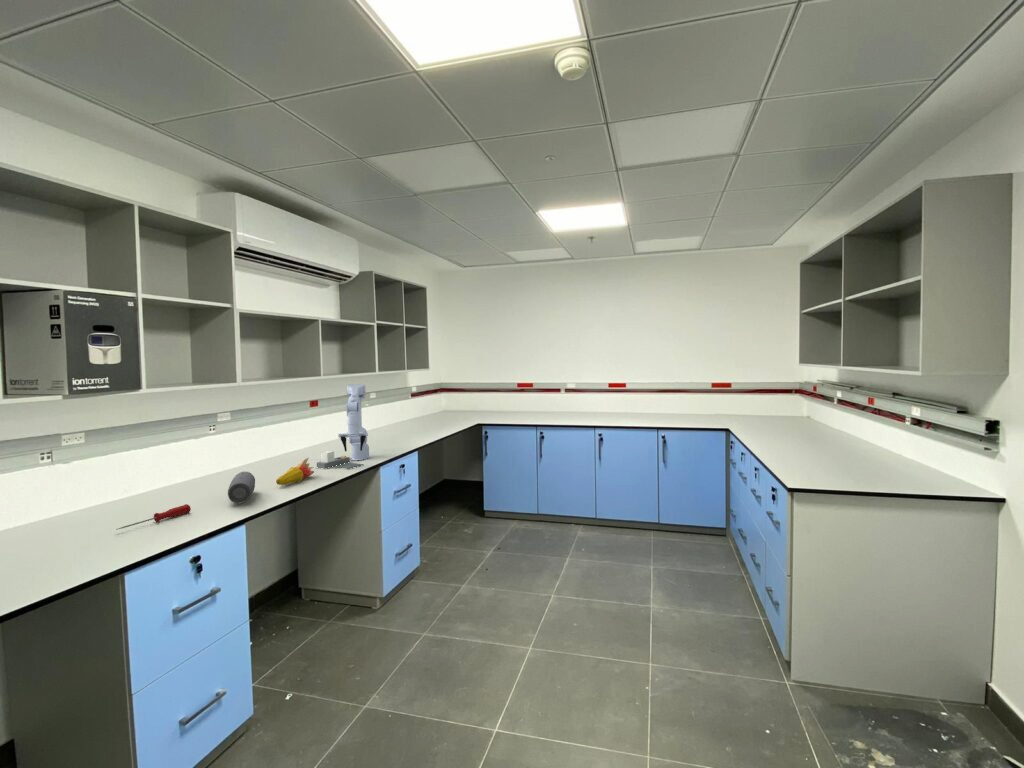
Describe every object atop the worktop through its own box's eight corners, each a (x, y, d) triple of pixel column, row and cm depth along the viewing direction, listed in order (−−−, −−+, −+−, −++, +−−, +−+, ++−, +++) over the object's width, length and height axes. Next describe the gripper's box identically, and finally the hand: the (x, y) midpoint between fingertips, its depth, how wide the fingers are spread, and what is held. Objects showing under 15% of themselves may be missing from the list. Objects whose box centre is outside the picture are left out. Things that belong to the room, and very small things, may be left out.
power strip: (342, 461, 281) (341, 455, 281) (349, 462, 278) (349, 456, 278) (316, 468, 265) (316, 461, 265) (324, 469, 262) (324, 462, 262)
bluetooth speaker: (232, 494, 215) (231, 471, 214) (256, 491, 219) (255, 469, 218) (226, 508, 194) (225, 483, 194) (253, 505, 198) (252, 480, 197)
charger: (328, 462, 271) (328, 450, 271) (334, 463, 269) (334, 451, 269) (321, 464, 267) (321, 452, 266) (327, 465, 265) (327, 453, 264)
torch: (277, 496, 224) (308, 476, 248) (290, 488, 222) (320, 469, 247) (267, 480, 224) (299, 462, 248) (281, 473, 222) (311, 455, 246)
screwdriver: (113, 534, 166) (112, 523, 166) (185, 512, 190) (185, 503, 189) (119, 535, 165) (119, 524, 165) (191, 513, 188) (191, 504, 188)
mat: (348, 463, 275) (348, 462, 275) (363, 465, 271) (363, 464, 271) (333, 467, 266) (333, 466, 266) (348, 469, 261) (348, 468, 261)
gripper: (337, 425, 252) (337, 451, 251) (367, 423, 255) (367, 450, 254) (339, 425, 259) (339, 451, 257) (367, 424, 262) (368, 450, 261)
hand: (353, 451), depth 256 cm, fingers open, 7 cm apart
